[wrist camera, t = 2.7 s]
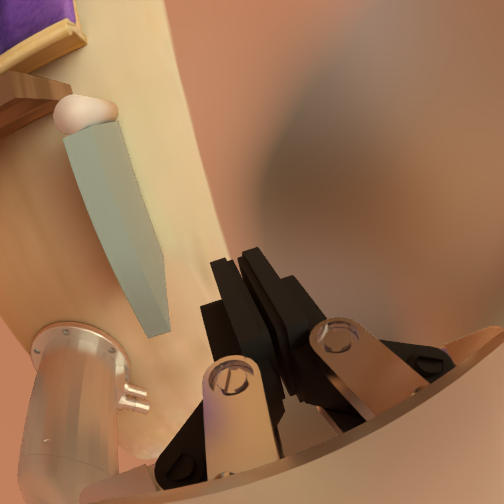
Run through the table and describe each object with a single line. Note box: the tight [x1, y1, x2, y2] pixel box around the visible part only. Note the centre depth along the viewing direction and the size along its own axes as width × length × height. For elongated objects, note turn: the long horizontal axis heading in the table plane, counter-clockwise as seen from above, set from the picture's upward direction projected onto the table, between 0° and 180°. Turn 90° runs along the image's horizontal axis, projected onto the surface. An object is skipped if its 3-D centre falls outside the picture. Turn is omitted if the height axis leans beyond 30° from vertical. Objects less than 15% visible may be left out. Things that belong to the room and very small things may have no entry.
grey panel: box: [53, 94, 171, 338], centre depth 20 cm, size 2×15×11 cm, turn 12°
